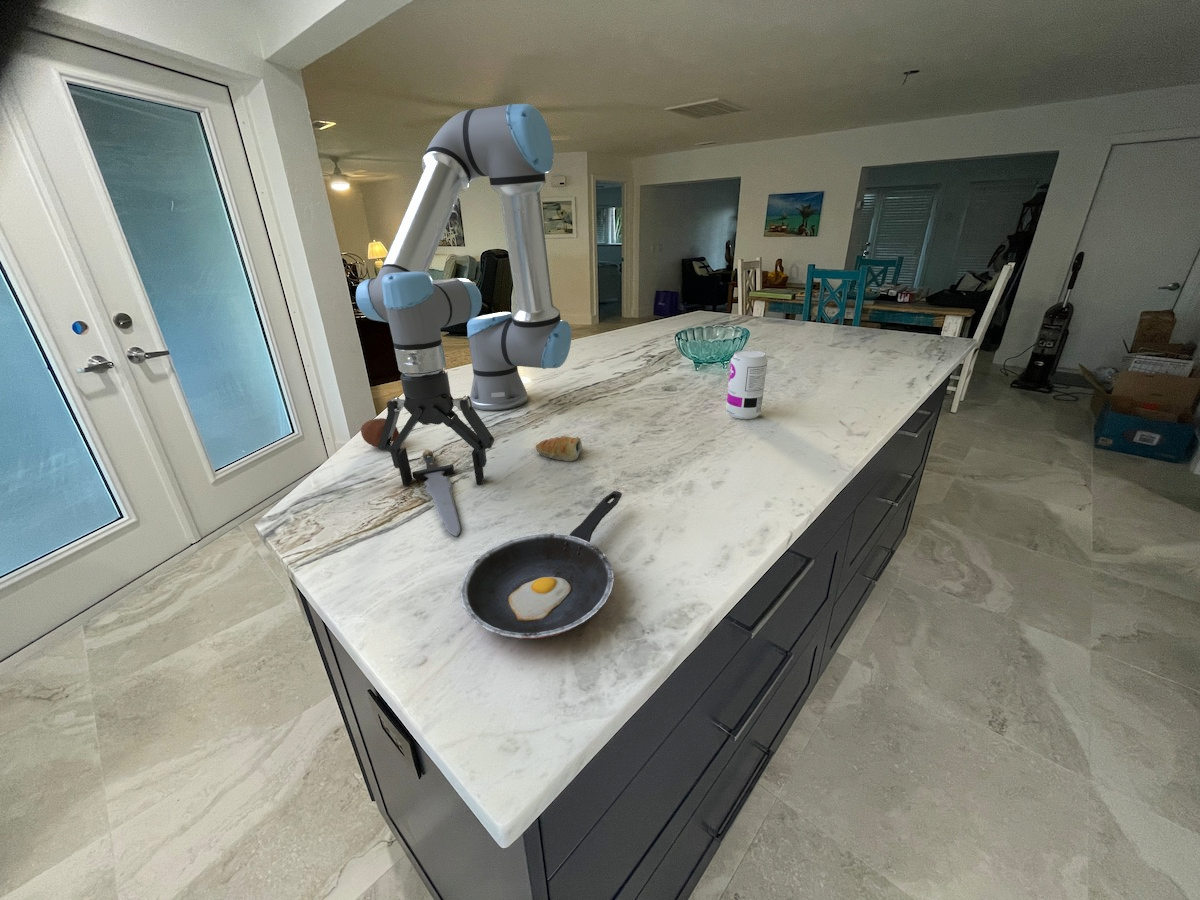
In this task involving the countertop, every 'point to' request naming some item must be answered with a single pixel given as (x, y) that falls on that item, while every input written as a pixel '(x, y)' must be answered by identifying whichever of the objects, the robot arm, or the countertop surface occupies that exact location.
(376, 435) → the potato
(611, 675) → the countertop surface
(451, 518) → the dagger
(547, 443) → the pastry
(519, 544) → the frying pan
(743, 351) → the supplement can
